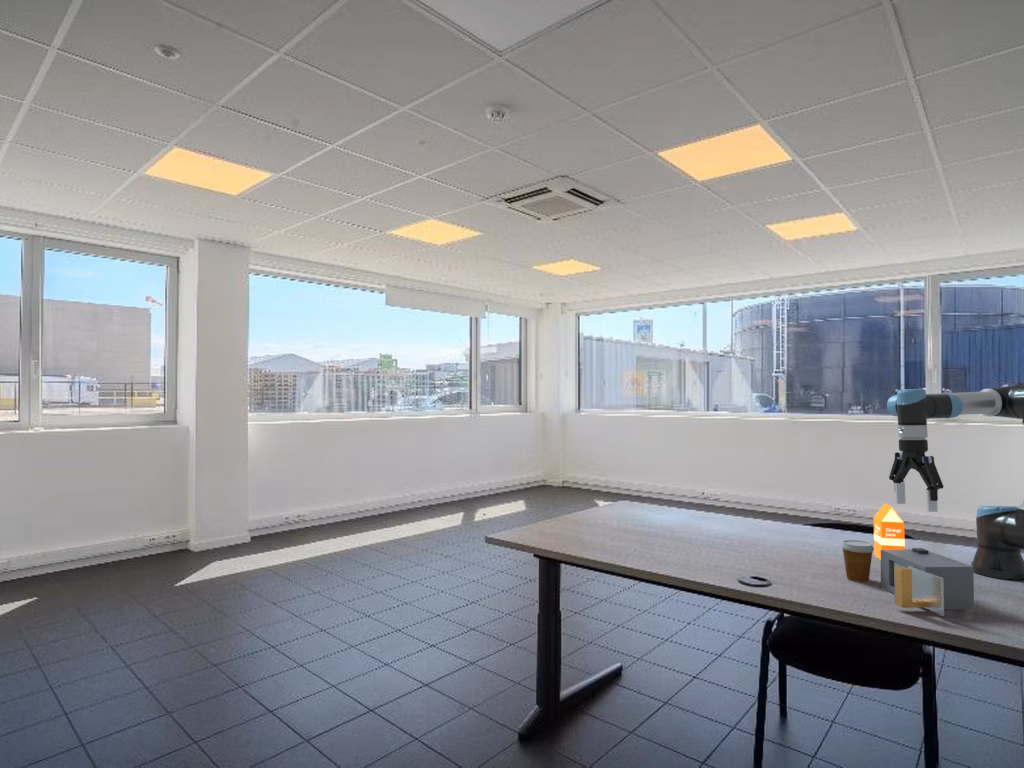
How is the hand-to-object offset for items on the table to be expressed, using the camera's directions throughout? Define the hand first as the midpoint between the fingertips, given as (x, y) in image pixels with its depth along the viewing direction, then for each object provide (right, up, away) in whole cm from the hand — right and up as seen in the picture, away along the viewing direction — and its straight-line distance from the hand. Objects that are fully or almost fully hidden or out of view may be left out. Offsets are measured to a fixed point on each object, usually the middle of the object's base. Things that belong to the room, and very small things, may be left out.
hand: (915, 507), depth 188 cm
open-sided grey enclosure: (-1, -26, -6) cm, 27 cm away
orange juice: (+16, -27, +39) cm, 50 cm away
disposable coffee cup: (-11, -27, +13) cm, 32 cm away
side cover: (-12, -25, -17) cm, 32 cm away
